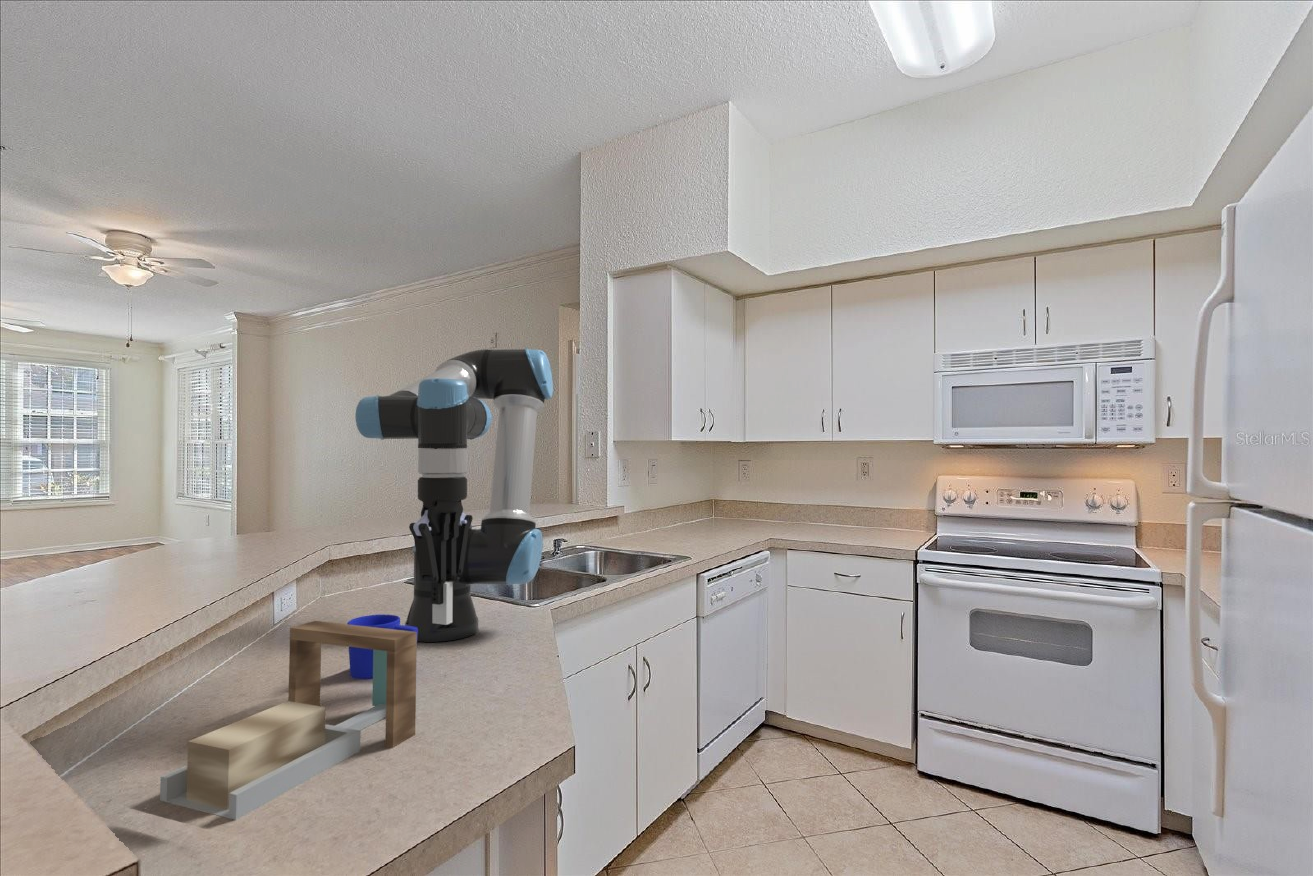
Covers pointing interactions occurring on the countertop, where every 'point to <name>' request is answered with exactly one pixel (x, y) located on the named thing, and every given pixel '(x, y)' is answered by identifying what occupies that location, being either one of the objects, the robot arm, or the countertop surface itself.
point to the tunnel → (393, 641)
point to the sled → (270, 786)
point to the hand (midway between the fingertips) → (442, 622)
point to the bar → (251, 750)
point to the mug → (364, 657)
